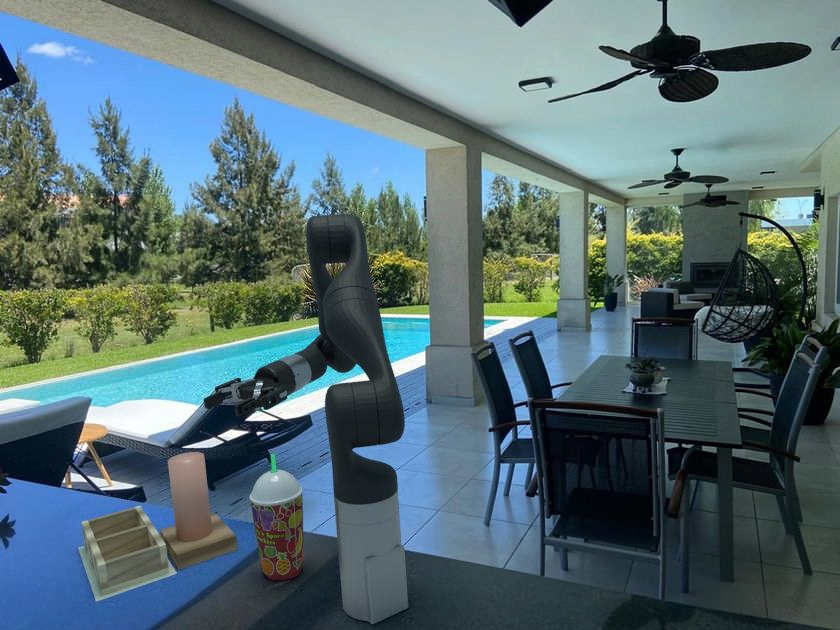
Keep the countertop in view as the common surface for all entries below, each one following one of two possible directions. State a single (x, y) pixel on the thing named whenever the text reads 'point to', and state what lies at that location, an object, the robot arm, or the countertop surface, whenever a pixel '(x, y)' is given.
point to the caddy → (124, 549)
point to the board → (200, 544)
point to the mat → (99, 596)
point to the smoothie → (278, 523)
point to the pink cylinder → (190, 496)
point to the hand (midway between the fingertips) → (220, 407)
